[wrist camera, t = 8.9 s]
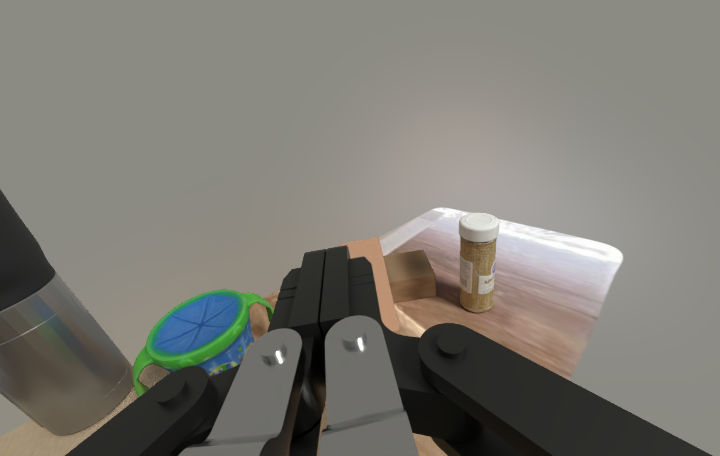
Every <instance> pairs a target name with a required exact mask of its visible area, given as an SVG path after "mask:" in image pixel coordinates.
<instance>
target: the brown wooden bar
mask: <svg viewBox="0 0 720 456" xmlns="http://www.w3.org/2000/svg"><path fill="white" fill-rule="evenodd" d="M383 258H384V262H385V267H386V271H387V276H388V280H389V285H390V289H391V294H392V298H393V303H397V302H403V301H409V300H415V299H422V298H428V297H434V296H436V279H435V273H434V271H433V269H432V267H431V265H430V263H429V261H428V258H427V256H426V254H425V252H424V250H418V251H412V252H406V253H400V254H394V255H388V256H383Z"/></svg>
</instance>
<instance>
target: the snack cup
mask: <svg viewBox="0 0 720 456" xmlns="http://www.w3.org/2000/svg"><path fill="white" fill-rule="evenodd" d="M254 303H259V304H261V305H263V306H266V309H267V312H268V318H269V321H270V322H271V319H272V315H273V312H274V310H273V308H272V307H271V305H270V304H269V303H268V302H267V301H266V300H265V299H264V298H262V297H260V296H259V295H257V294H254V293H239V292H236V291H233V290H216V291H211V292H207V293H203V294H200V295H198V296H195V297H193V298H191V299H189V300H187V301H185V302H183V303H181V304H180V305H178V306H177V307H175V308H174V309H172V310H171V311H170V312H168V313H167V314H166V315H165V316H164V317H163V318H162V319H161V320H160V321H159V322H158V323H157V324H156V325H155V326H154V328H153V329H152V330H151V332H150V334H149V336H148V339H147V342H146V346H145V347H144V348H143V349H142V351H141V352H140V353H139V355H138V357H137V358H136V361H135V363H134V366H133V383H134V387H135V390H136V393H137V395H138V396H139V397H140V396H141V395H142V394H144V393H145V392H146V391H148V390H149V388H148V387H147V386H145V385H144V384H143V383H141V382H140V381H139V378H138V377H139V375H140V374H141V372H142V370H143V369H144V368H145V367H146V366H147V365H151V364H156V365H158V366H161V367H163V368H165V369H167V370H168V371H170V372H171V373H172V372H174V371H176V370H178V369H181V368H184V367H188V366H199V367H202V368H204V369H205V370H206V372H207V373H208V375H209V377H212V376H214V375H217V374H219V373H221V372H223V371H226V370H228V369H230V368H232V367H235V366H237V365H239V364H241V363H242V361H243V358H244V356H245V354H246V352H247V350H248V349H249V347H250V346H251V345H252V344H253V342H254V339H253V335H252V330H251V326H250V317H249V309H250V306H251V305H252V304H254Z"/></svg>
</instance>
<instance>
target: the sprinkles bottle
mask: <svg viewBox="0 0 720 456" xmlns="http://www.w3.org/2000/svg"><path fill="white" fill-rule="evenodd" d="M498 233H499V221H498V219H497V218H496V217H494V216H492V215H490V214H485V213H472V214H468V215H465V216H463V217H462V218H461V219H460V221H459V234H460V237H461V251H460V286H461V295H460V303H461V305H462V306H463V307H464V308H465V309H467V310H469V311H471V312H474V313H475V312H476V313H481V312H486V311H488V310H490V309H491V308H492V306H493V288H494V276H495V253H496V239H497V236H498Z"/></svg>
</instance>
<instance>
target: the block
mask: <svg viewBox="0 0 720 456" xmlns="http://www.w3.org/2000/svg"><path fill="white" fill-rule="evenodd" d="M345 245H347V246H348V249H349V253H350V258H351V259H352V258H357V257H363V256H364V257H365V258H366V259H367V260H368V261H369V262H370V263H371V264H372V269H373V274H374V280H375V285H376V291H377V296H378V302H379V307H380V313H381V319H382V322H383V324H384V325H385V326H386V327H387V328H388V329H389V330H391V331H393V332H395V333H397V334H400V329H399V325H398V320H397V316H396V311H395V307H394V303H393V298H392V294H391V289H390V285H389V280H388V276H387V271H386V267H385V262H384V258H383V254H382V249H381V245H380V240H379V237H376V238H370V239H364V240H358V241H352V242H346V243H341V244H340V246H345Z"/></svg>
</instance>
